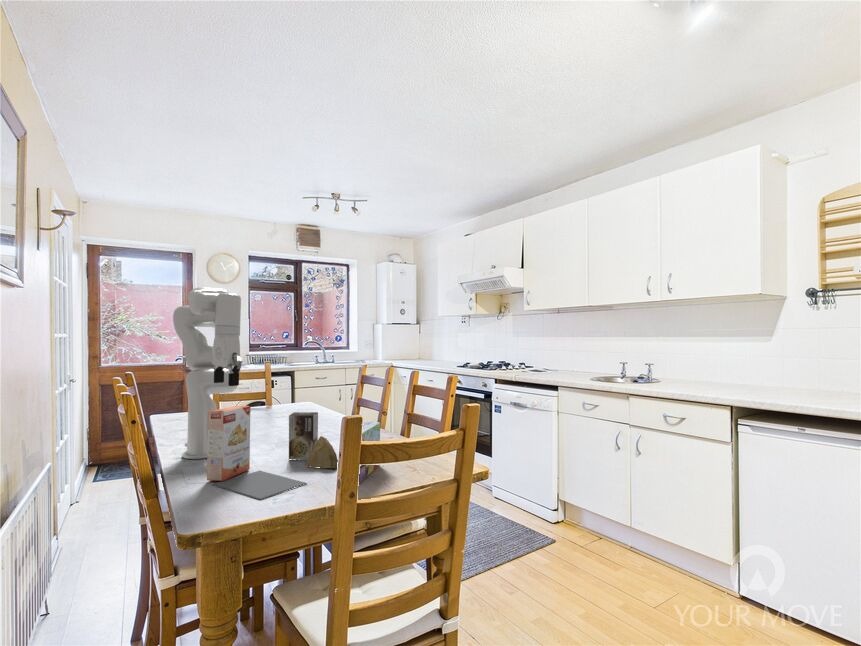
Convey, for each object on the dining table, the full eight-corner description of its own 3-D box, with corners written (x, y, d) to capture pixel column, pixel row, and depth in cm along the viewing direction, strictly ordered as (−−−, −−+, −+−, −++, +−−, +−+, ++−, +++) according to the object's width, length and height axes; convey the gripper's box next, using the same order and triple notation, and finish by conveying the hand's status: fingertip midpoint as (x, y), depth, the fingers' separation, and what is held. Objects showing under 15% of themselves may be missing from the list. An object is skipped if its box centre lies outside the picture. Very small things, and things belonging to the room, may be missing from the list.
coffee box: (318, 456, 167) (318, 411, 168) (313, 461, 161) (314, 415, 161) (293, 455, 167) (294, 411, 168) (287, 460, 161) (288, 414, 161)
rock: (347, 460, 153) (334, 450, 161) (335, 443, 149) (322, 433, 157) (322, 484, 148) (310, 472, 156) (308, 467, 145) (296, 456, 152)
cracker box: (223, 482, 136) (224, 411, 137) (206, 481, 137) (206, 410, 138) (251, 469, 149) (251, 405, 150) (234, 468, 150) (235, 405, 152)
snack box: (359, 485, 135) (360, 434, 135) (342, 484, 136) (342, 433, 136) (380, 465, 156) (381, 421, 156) (364, 464, 157) (365, 420, 157)
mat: (212, 485, 134) (212, 483, 134) (259, 471, 147) (259, 470, 148) (260, 500, 122) (260, 498, 122) (306, 484, 135) (306, 482, 136)
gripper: (203, 330, 151) (202, 382, 151) (229, 332, 140) (227, 388, 140) (225, 330, 157) (224, 380, 156) (252, 332, 146) (250, 386, 146)
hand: (226, 384), depth 148 cm, fingers open, 9 cm apart
